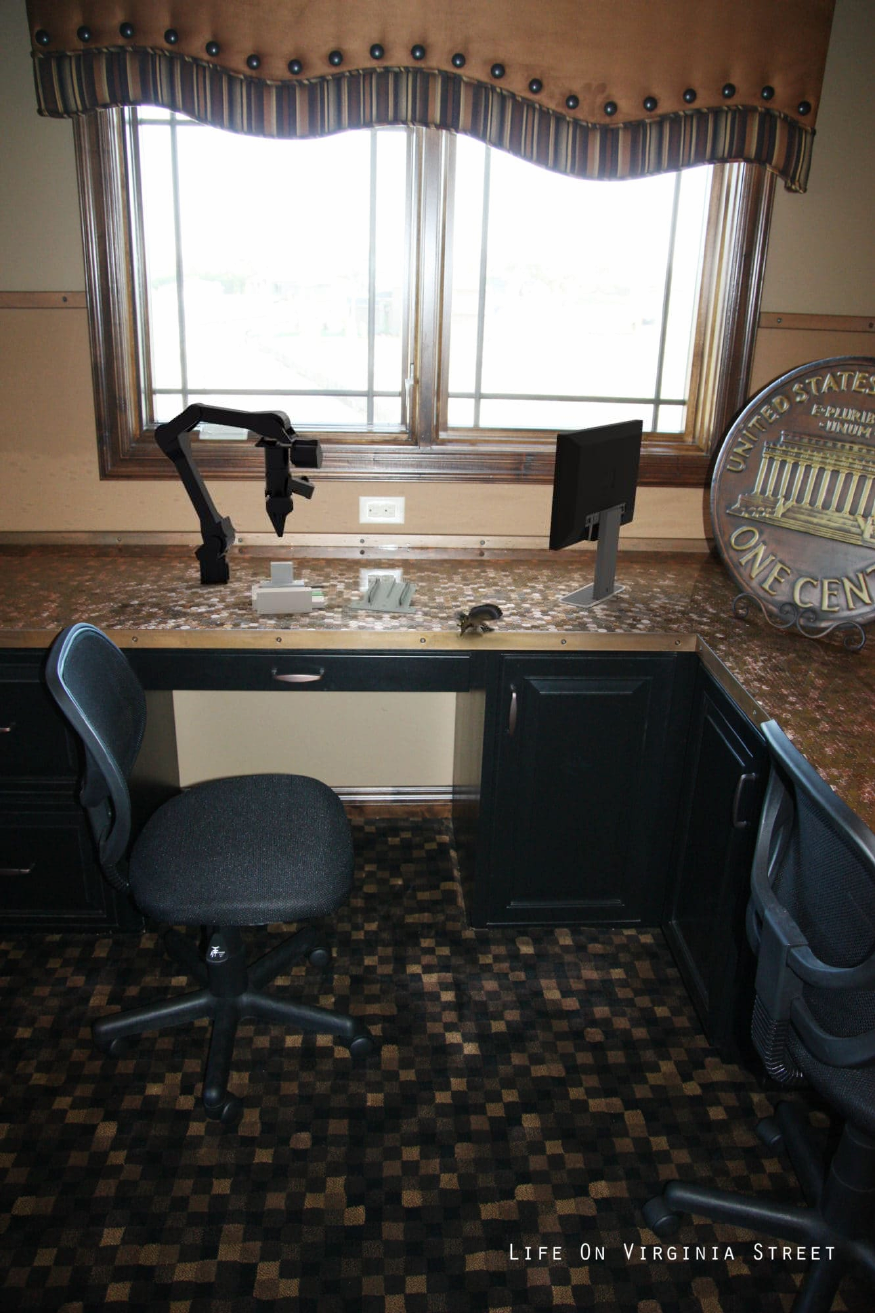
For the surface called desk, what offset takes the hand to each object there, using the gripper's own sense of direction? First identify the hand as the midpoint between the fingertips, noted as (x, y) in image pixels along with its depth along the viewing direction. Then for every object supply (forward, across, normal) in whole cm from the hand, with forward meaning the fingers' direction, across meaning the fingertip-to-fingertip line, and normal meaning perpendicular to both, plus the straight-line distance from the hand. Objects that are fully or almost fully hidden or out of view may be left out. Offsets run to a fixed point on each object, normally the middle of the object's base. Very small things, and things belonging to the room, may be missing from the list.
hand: (279, 533), depth 218 cm
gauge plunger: (+13, -10, -2) cm, 16 cm away
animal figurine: (+14, -39, -40) cm, 57 cm away
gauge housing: (+13, -15, -1) cm, 20 cm away
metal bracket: (+14, -17, -24) cm, 32 cm away
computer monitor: (+14, -15, -74) cm, 77 cm away
